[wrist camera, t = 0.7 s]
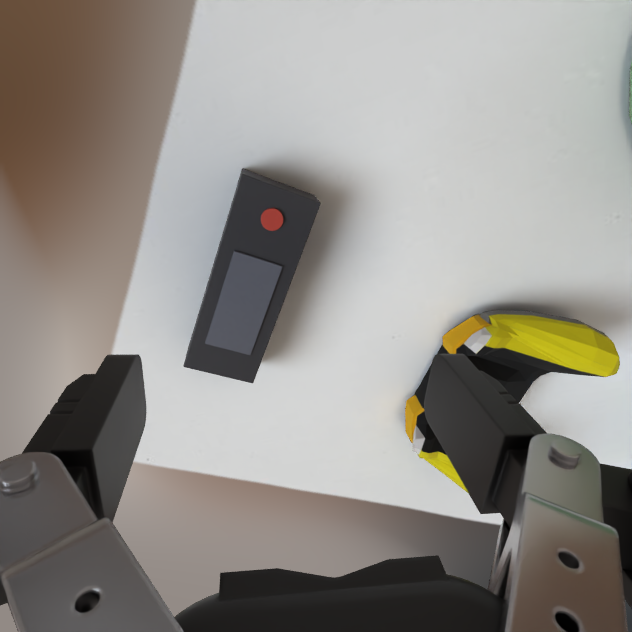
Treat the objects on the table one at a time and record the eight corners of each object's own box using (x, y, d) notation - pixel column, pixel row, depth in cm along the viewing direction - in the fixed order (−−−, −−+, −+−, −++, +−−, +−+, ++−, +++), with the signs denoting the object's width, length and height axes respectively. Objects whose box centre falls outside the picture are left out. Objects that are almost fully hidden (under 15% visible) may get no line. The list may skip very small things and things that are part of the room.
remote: (242, 168, 24) (241, 173, 22) (314, 195, 26) (321, 203, 23) (188, 347, 29) (183, 368, 26) (252, 364, 30) (253, 384, 28)
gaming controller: (583, 316, 32) (472, 273, 29) (644, 353, 27) (517, 306, 24) (480, 467, 37) (377, 443, 34) (515, 522, 32) (398, 499, 29)
